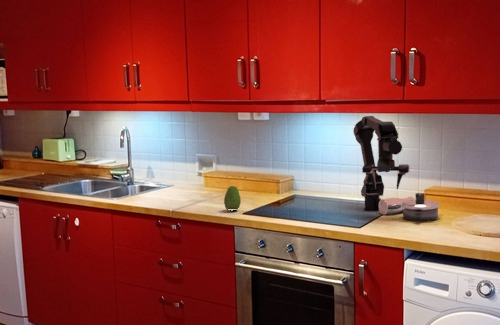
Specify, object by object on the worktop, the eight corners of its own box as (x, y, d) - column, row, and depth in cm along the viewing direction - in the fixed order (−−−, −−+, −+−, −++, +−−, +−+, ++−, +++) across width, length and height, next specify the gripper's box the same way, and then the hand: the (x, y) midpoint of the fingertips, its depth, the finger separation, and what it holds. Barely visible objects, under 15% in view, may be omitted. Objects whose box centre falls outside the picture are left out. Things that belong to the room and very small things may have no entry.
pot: (399, 223, 237) (399, 211, 236) (405, 213, 254) (404, 202, 253) (436, 224, 232) (436, 212, 231) (439, 214, 249) (439, 202, 248)
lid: (399, 209, 240) (398, 196, 239) (403, 202, 254) (403, 190, 253) (437, 210, 234) (437, 197, 234) (440, 203, 248) (440, 190, 247)
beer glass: (418, 203, 255) (389, 207, 249) (412, 214, 259) (383, 218, 254) (410, 192, 259) (381, 195, 254) (405, 203, 264) (376, 206, 258)
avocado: (243, 211, 275) (242, 186, 273) (227, 213, 272) (225, 188, 271) (238, 208, 282) (237, 183, 281) (222, 210, 280) (221, 185, 279)
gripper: (359, 154, 242) (360, 192, 244) (406, 154, 236) (407, 192, 238) (364, 151, 253) (365, 187, 255) (409, 150, 246) (409, 187, 248)
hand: (386, 188), depth 248 cm, fingers open, 9 cm apart
